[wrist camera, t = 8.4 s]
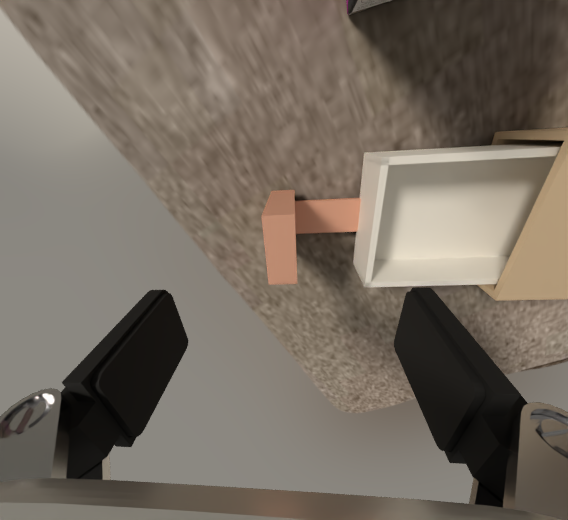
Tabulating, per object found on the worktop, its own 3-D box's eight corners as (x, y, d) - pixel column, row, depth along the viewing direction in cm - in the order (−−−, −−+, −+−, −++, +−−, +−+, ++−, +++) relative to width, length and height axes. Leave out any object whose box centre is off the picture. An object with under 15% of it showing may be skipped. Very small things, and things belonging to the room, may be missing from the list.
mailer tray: (627, 137, 17) (819, 139, 11) (558, 256, 22) (663, 305, 16) (269, 158, 19) (256, 169, 13) (277, 265, 24) (271, 312, 17)
